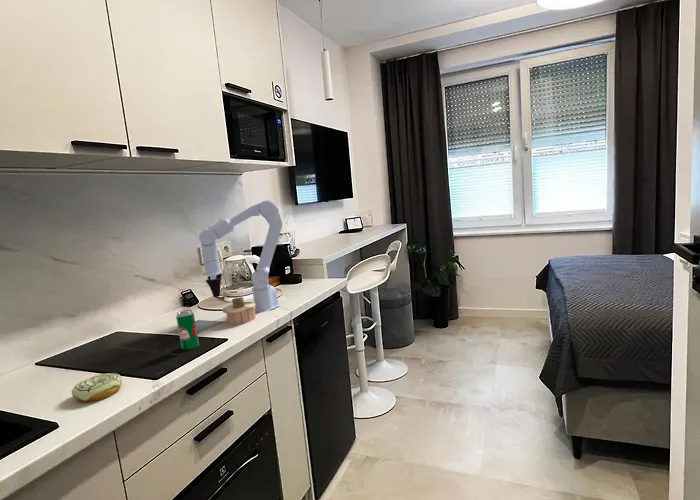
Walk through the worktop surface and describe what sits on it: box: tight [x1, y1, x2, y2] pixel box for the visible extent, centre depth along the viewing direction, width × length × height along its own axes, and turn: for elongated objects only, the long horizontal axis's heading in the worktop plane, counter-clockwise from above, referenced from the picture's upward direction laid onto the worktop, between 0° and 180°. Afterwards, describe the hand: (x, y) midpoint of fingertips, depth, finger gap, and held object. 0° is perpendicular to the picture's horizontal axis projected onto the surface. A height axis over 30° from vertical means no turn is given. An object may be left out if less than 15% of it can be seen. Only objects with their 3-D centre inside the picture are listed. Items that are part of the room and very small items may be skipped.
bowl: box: [225, 307, 257, 325], centre depth 149 cm, size 10×10×5 cm
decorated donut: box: [71, 372, 123, 403], centre depth 100 cm, size 10×11×4 cm
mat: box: [167, 319, 225, 335], centre depth 147 cm, size 14×14×1 cm
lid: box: [221, 296, 256, 314], centre depth 149 cm, size 12×12×4 cm
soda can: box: [175, 309, 200, 351], centre depth 125 cm, size 5×5×12 cm
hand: (217, 294), depth 156 cm, fingers open, 7 cm apart
